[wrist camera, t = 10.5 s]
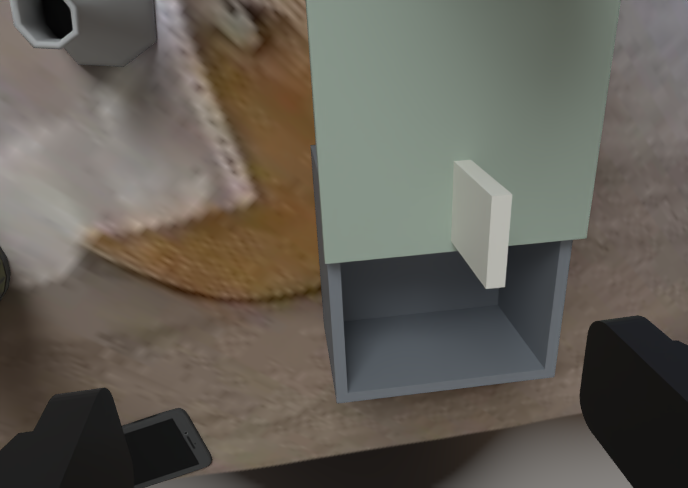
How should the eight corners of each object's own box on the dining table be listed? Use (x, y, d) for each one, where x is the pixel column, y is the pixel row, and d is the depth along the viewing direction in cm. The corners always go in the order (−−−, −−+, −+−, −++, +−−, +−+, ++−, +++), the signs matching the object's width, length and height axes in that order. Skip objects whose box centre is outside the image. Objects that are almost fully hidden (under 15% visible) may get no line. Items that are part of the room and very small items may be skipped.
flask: (175, 51, 38) (145, 69, 29) (73, 81, 38) (11, 108, 29) (130, -67, 35) (81, -88, 26) (19, -34, 35) (-69, -44, 26)
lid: (620, -59, 29) (716, -73, 23) (579, 233, 36) (644, 283, 29) (302, -44, 27) (312, -54, 21) (324, 258, 34) (336, 317, 28)
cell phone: (38, 450, 51) (35, 457, 50) (183, 403, 50) (182, 408, 50) (79, 503, 54) (76, 510, 53) (215, 459, 53) (214, 465, 53)
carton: (516, 129, 43) (582, 165, 34) (502, 307, 50) (554, 376, 41) (310, 145, 42) (322, 187, 33) (324, 326, 48) (336, 403, 39)
